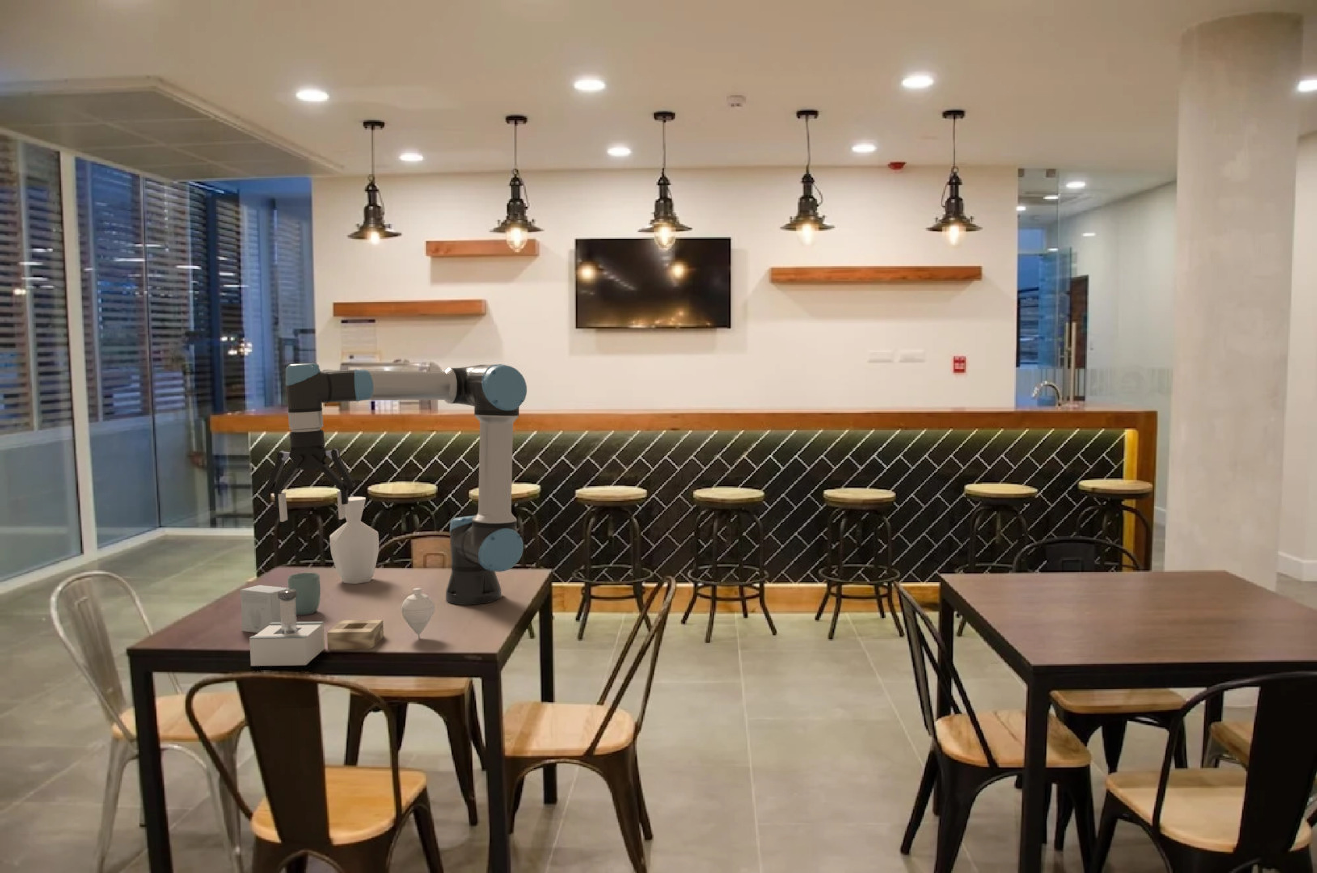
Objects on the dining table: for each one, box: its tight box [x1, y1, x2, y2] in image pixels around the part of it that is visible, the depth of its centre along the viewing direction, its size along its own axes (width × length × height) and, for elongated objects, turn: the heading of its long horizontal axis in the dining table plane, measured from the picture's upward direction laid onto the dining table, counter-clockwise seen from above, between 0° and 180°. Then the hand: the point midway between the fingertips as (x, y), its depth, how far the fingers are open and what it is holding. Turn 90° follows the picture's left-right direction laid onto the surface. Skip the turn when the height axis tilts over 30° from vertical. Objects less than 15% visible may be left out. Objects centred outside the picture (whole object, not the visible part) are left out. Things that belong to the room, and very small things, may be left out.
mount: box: [326, 619, 385, 650], centre depth 222 cm, size 10×10×4 cm
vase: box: [329, 496, 380, 585], centre depth 284 cm, size 14×14×25 cm
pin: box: [278, 589, 298, 634], centre depth 211 cm, size 4×4×15 cm
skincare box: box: [239, 584, 290, 634], centre depth 233 cm, size 10×6×10 cm, turn 66°
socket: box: [249, 621, 326, 667], centre depth 212 cm, size 12×12×6 cm
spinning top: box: [400, 587, 435, 639], centre depth 225 cm, size 8×8×12 cm
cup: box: [287, 572, 321, 616], centre depth 248 cm, size 8×8×10 cm
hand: (313, 519), depth 222 cm, fingers open, 13 cm apart
